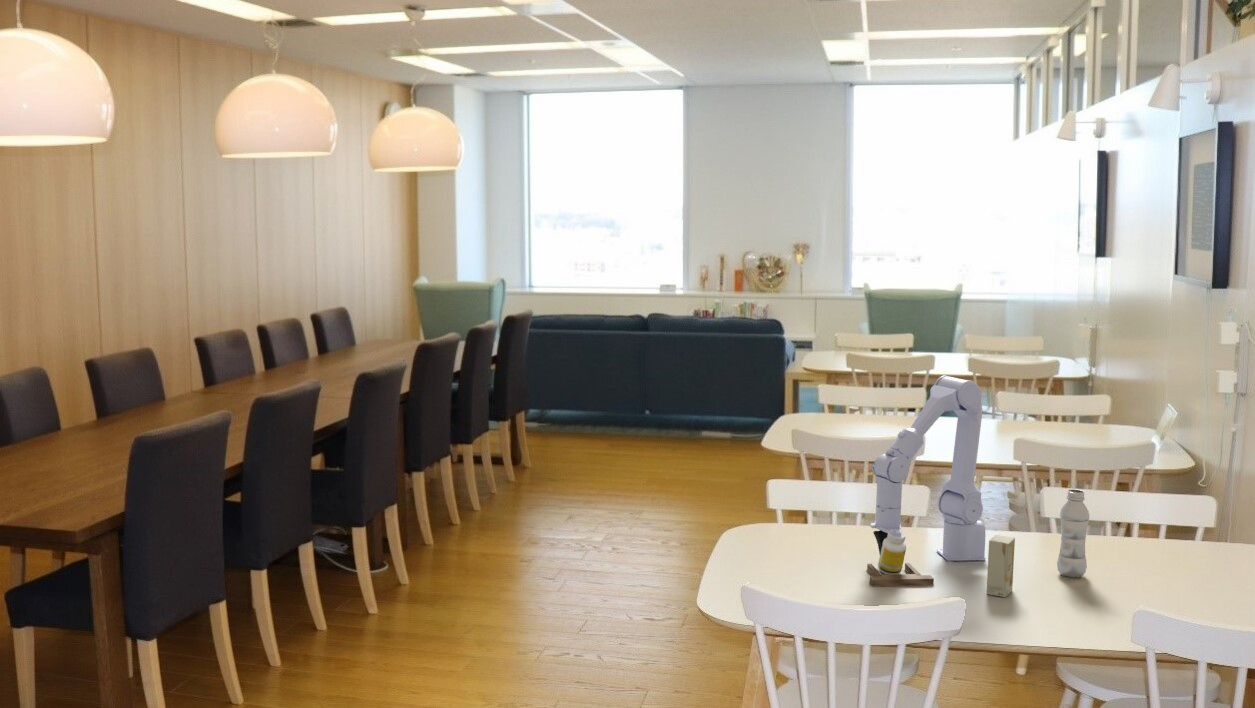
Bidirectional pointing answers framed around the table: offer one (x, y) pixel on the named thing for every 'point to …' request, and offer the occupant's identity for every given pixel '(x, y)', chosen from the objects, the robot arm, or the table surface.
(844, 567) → the table surface
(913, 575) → the wooden bracket frame
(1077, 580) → the table surface
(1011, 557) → the skincare box
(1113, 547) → the table surface
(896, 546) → the supplement bottle
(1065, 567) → the plastic bottle
